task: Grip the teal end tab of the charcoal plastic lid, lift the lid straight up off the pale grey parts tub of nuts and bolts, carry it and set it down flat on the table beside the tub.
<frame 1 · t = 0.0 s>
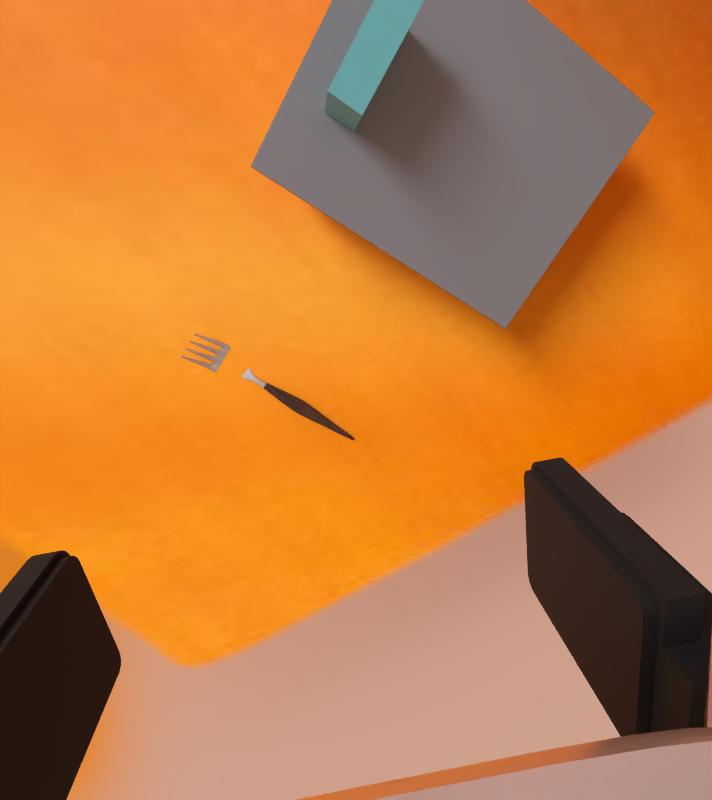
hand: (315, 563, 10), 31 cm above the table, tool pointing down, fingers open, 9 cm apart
lid: (447, 143, 32), point 5 cm above the table, touching tub
fork: (276, 389, 42), on the table
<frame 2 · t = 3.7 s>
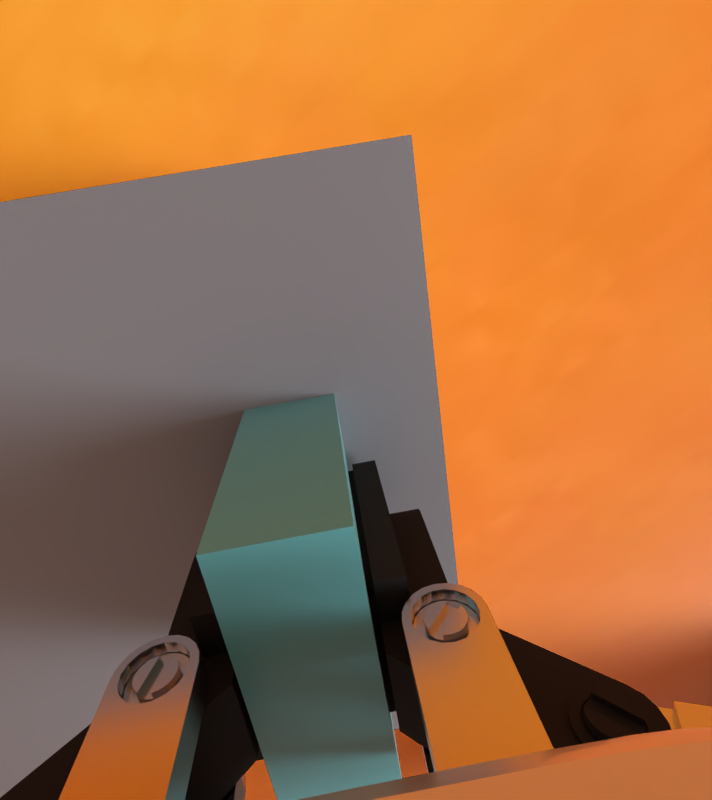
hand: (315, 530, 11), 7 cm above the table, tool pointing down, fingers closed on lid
lid: (81, 518, 14), point 5 cm above the table, touching gripper
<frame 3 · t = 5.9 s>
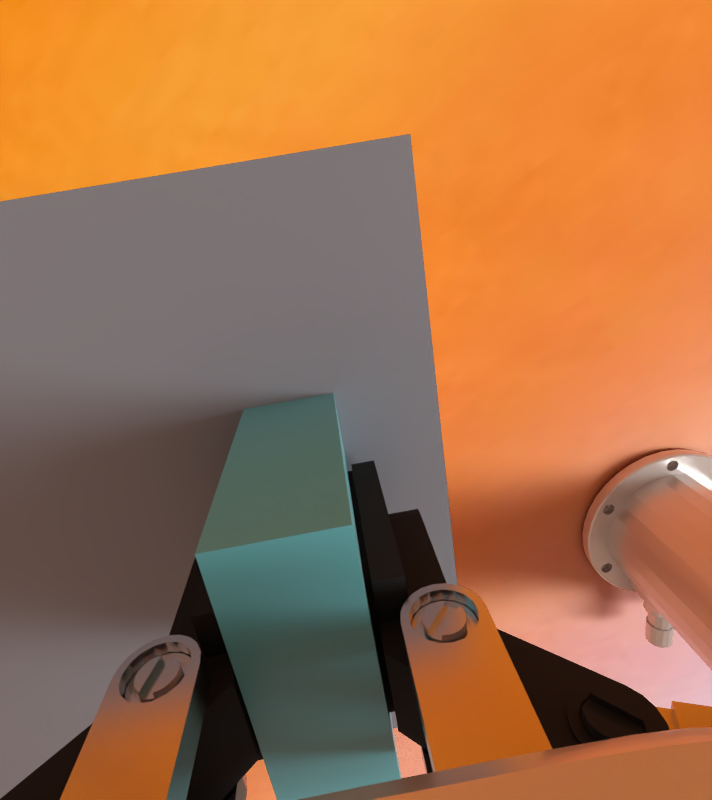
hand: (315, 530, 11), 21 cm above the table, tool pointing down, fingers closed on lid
lid: (80, 517, 14), point 19 cm above the table, touching gripper
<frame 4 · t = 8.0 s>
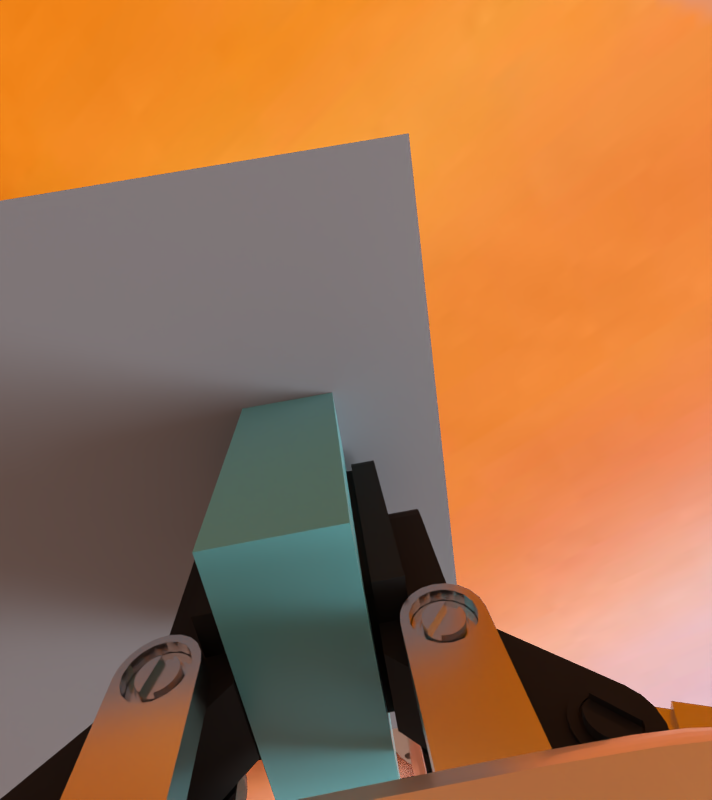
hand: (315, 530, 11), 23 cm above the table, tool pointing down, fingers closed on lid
lid: (79, 517, 14), point 21 cm above the table, touching gripper
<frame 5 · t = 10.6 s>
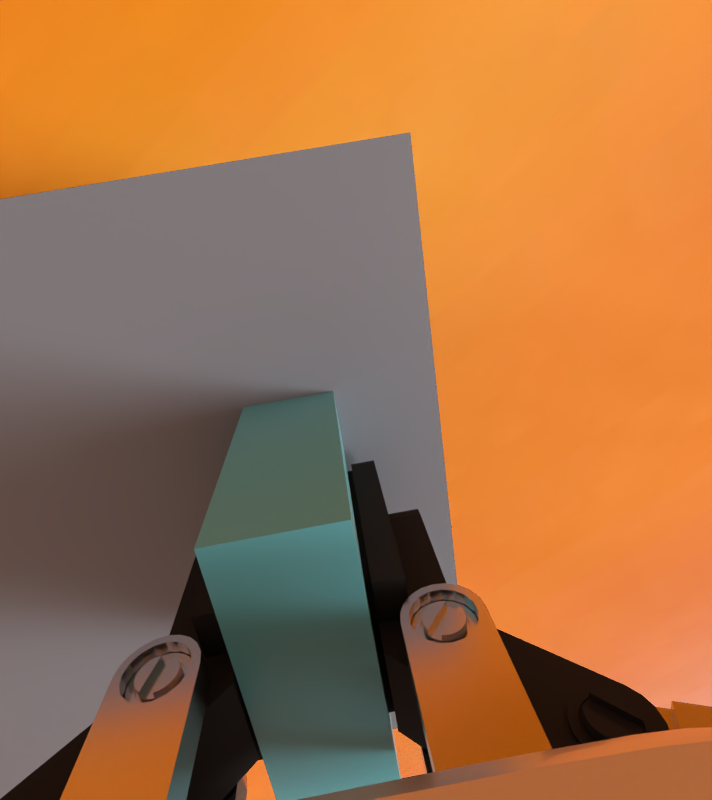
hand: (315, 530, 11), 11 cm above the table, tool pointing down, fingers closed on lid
lid: (80, 516, 14), point 8 cm above the table, touching gripper
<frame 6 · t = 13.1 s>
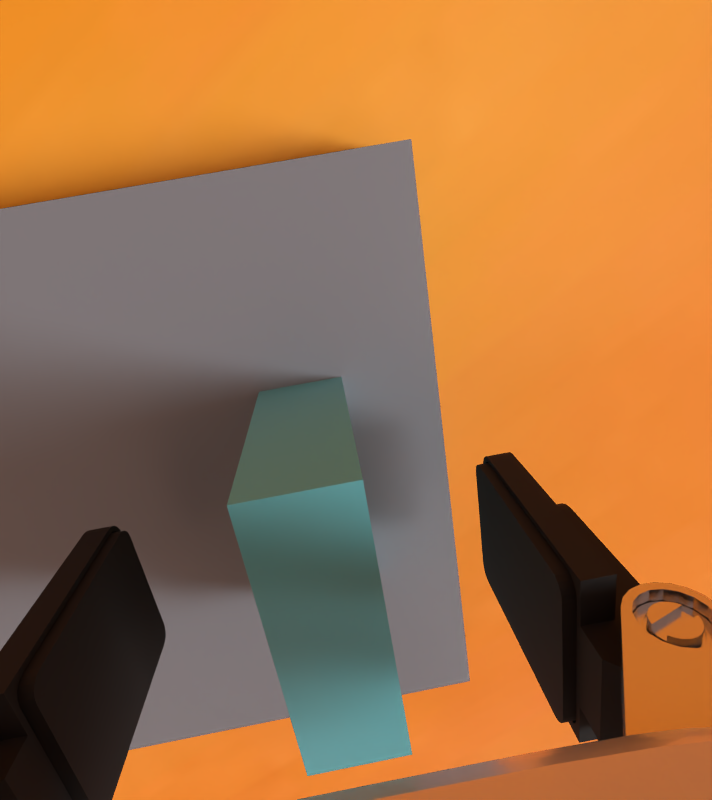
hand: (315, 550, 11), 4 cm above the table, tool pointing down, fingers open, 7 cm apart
lid: (104, 497, 15), on the table
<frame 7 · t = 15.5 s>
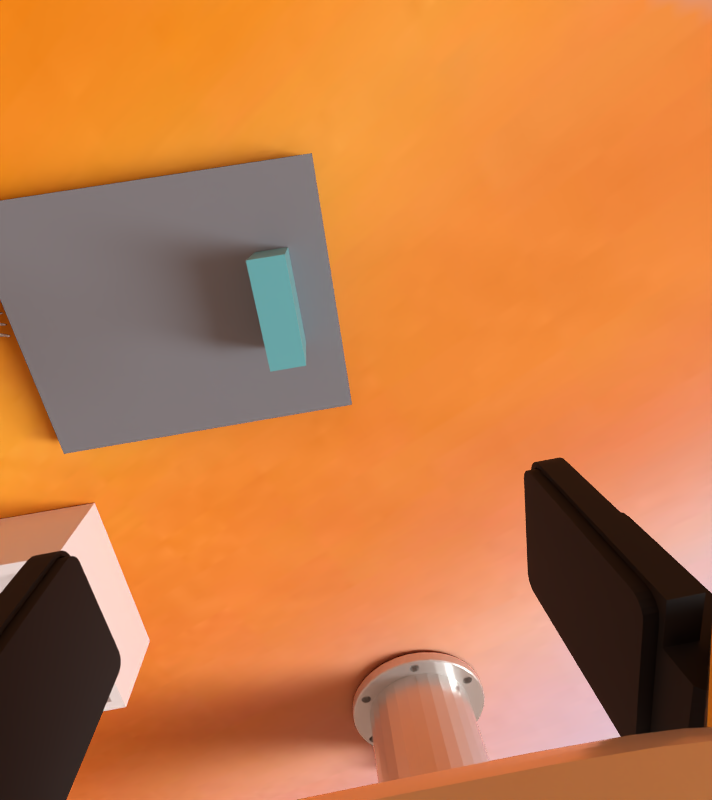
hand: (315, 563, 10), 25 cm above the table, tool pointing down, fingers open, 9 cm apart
lid: (184, 309, 32), on the table
tub: (10, 596, 39), on the table
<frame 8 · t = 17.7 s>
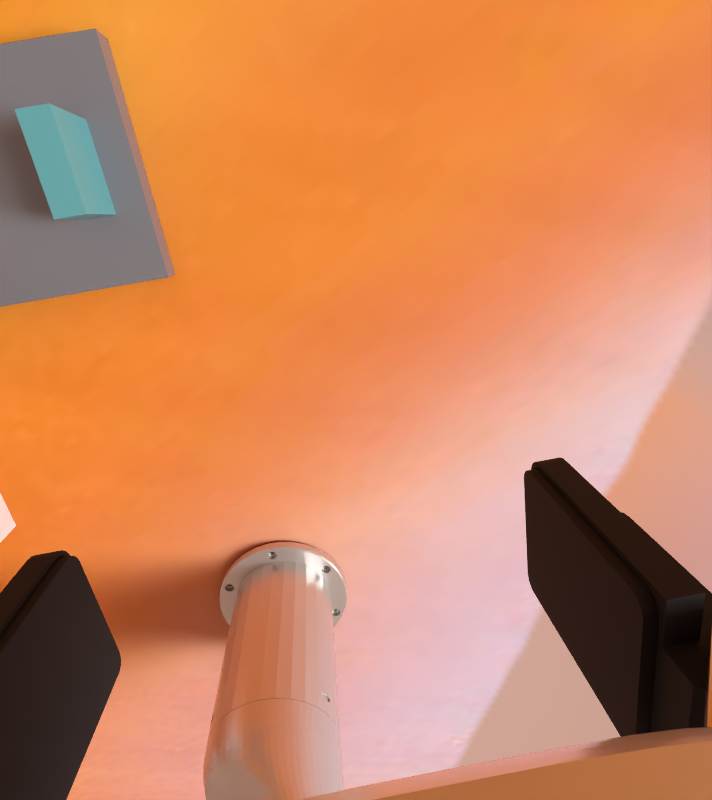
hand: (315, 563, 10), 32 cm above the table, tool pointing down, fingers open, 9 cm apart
lid: (8, 188, 36), on the table
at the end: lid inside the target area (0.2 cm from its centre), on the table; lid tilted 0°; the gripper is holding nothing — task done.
